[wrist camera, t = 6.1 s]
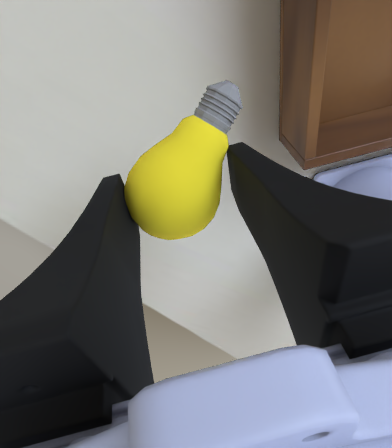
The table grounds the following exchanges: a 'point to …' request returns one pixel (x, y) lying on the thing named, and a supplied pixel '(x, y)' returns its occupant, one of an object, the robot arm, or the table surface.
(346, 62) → the tray
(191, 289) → the table surface
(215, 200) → the light bulb
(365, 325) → the robot arm
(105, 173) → the table surface
